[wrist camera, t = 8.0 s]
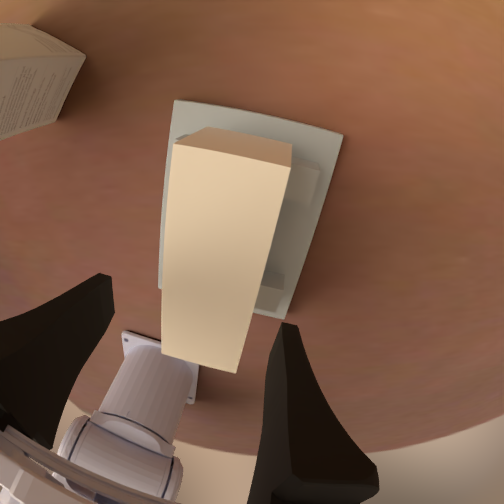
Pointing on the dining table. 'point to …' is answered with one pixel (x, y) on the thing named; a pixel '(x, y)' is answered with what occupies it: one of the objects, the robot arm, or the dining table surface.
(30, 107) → the skincare box
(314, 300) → the dining table surface
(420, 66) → the dining table surface
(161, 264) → the display stand
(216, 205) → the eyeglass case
